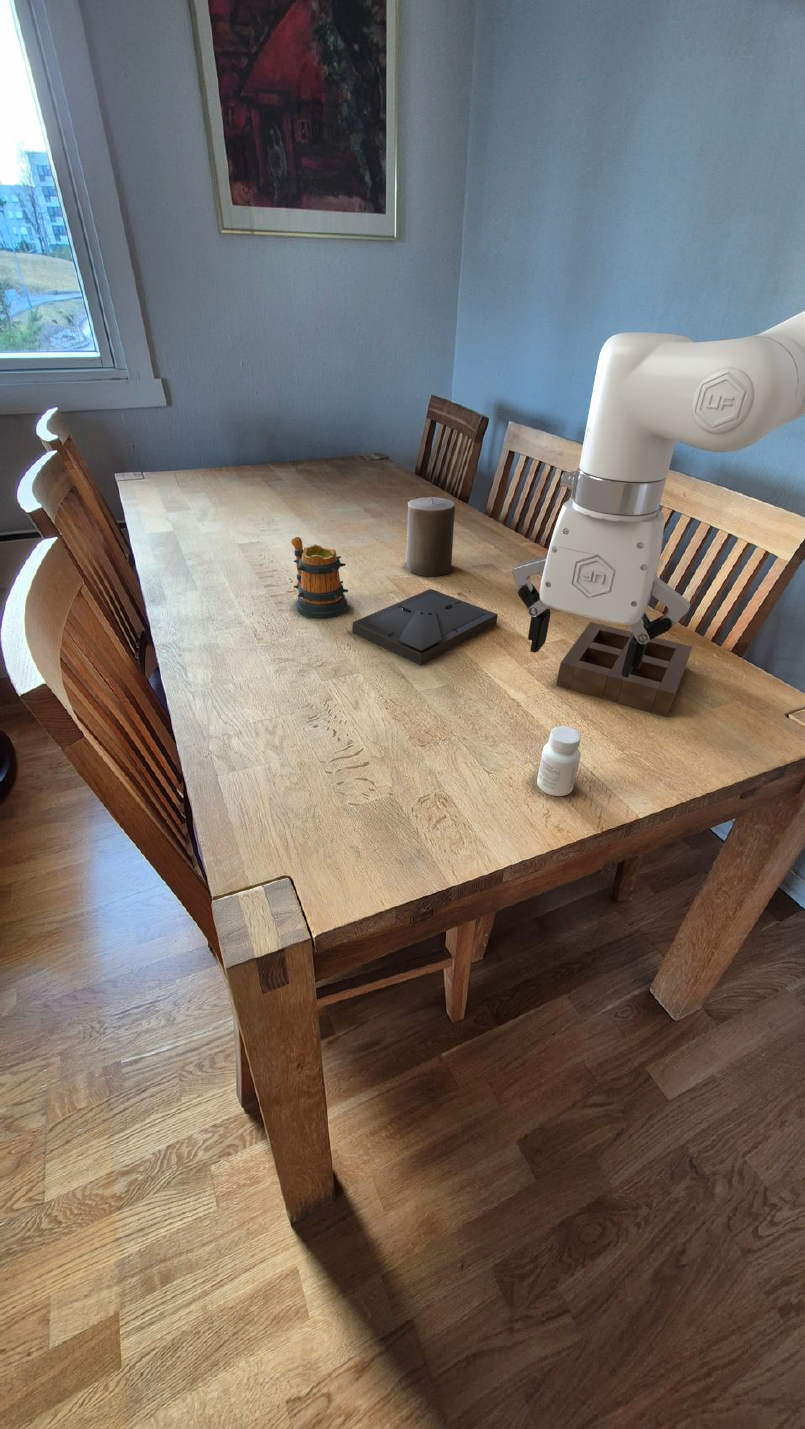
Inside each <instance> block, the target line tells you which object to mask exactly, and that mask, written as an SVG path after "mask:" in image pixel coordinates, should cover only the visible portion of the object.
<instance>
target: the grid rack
mask: <svg viewBox="0 0 805 1429" xmlns="http://www.w3.org/2000/svg"><path fill="white" fill-rule="evenodd" d="M633 636H634V634H633V633H632V631H631V630H626V629H622V628H618V627H614V626H609V625H605V624H602V623H597V622H593V621H590V622H589V623H588V624H587V626H586V627H585V628H584V629H583V631H582V632H581V634H580V635H579V636H578V638H577V639H576V641H575V642H574V644H573V645H572V646H571V647H570V649H569V650H568V652H567V653H566V654H565V656H564V657H563V659H562V660H561V661H560V663H559V669H558V672H557V673H558V674H557V678H556V684H555V685H556V686H557V687H560V688H564V689H567V690H572V691H575V692H579V693H582V694H585V695H588V696H593V697H596V698H599V699H603V700H607V701H610V702H613V703H616V704H620V705H623V706H627V707H630V708H634V709H637V710H640V711H644V712H647V713H652V714H654V715H657V716H662V717H665V718H668V716H669V713H670V711H671V709H672V705H673V702H674V701H675V697H676V694H677V692H678V689H679V686H680V684H681V681H682V678H683V676H684V673H685V670H686V668H687V665H688V662H689V659H690V655H691V653H692V650H693V646H691V645H688V644H684V643H680V642H676V641H672V640H667V639H664V638H659V637H655V638H653V639H651V640H649V642H648V643H647V645H646V649H645V653H644V656H643V660H642V663H641V665H640V668H639V669H637V668H633V669H632V671H631V673H630V675H629V677H628V678H626V677H623V675H621V673H622V669H623V665H624V661H625V658H626V654H627V650H628V646H629V643H630V641H631V639H632V637H633Z"/></svg>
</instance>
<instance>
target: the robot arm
mask: <svg viewBox="0 0 805 1429" xmlns="http://www.w3.org/2000/svg"><path fill="white" fill-rule="evenodd" d="M804 416H805V310H803V311H802V312H799V313H797V314H796V315H794V316H792V317H790V318H788V319H786V320H784V321H782V322H780V323H779V324H776V325H774V326H773V327H770V328H769V329H768V328H767V329H766V330H764V331H762V332H760V333H759V334H754V335H749V336H744V337H739V338H731V339H721V340H709V341H693V340H692V339H690V337H687V336H684V335H679V334H672V333H661V332H647V331H646V332H645V331H644V332H643V331H642V332H639V331H636V332H635V331H633V332H632V331H631V332H619V333H616V334H614V335H612V336H610V337H608V338H607V339H606V341H605V342H604V344H603V346H602V347H601V350H600V352H599V357H598V361H597V366H596V372H595V376H594V382H593V388H592V393H591V399H590V404H589V410H588V416H587V422H586V425H585V426H586V427H585V432H584V438H583V442H582V448H581V449H582V450H581V455H580V460H579V465H578V468H577V469H576V470H575V471H574V470H571V472H569V471H563V473H562V474H561V477H560V483H559V484H560V487H561V488H567V490H569V491H570V493H571V499H569V500H567V501H565V502H563V504H562V507H561V509H560V510H559V514H558V517H557V520H556V522H555V526H554V529H553V533H552V535H551V540H550V543H549V547H548V551H547V554H546V556H544V557H541V558H537V559H534V560H530V561H527V562H523V563H520V564H517V565H516V566H515V567H514V568H513V569H512V571H511V574H512V577H513V581H514V583H515V586H516V588H517V590H518V591H517V594H518V597H519V598H520V600H521V601H522V602H523V604H524V606H525V607H526V608H527V613H528V615H529V617H530V622H529V628H528V635H527V640H528V641H531V644H530V650H529V652H531V653H535V654H536V653H538V652H539V651H540V649H541V648H542V647H543V646H544V644H545V643H546V641H547V636H548V631H549V626H550V620H551V614H552V612H551V611H550V610H551V609H554V610H558V611H561V612H565V613H569V614H573V615H577V616H581V617H586V618H590V619H593V620H598V621H602V622H607V623H611V624H615V625H621V626H628V627H629V629H630V632H632V633H633V634H634V636H633V637H632V639H631V641H630V643H629V646H628V650H627V654H626V658H625V661H624V665H623V669H622V673H621V675H623V677H626V678H628V677H629V675H630V673H631V671H632V669H633V668H637V669H639V668H640V665H641V663H642V660H643V656H644V653H645V649H646V645H647V643H648V642H649V640H651V639H653V638H658V637H659V636H661V635H663V634H665V633H667V632H669V631H670V630H671V628H672V627H673V626H675V625H676V624H677V623H678V622H679V621H680V620H681V619H682V618H684V617H685V615H687V613H689V610H690V607H691V602H690V601H689V600H687V599H686V598H685V597H684V596H682V595H681V594H680V593H678V592H677V591H676V590H675V589H674V588H672V587H671V586H670V585H669V584H667V582H665V581H664V580H662V579H661V578H660V577H658V576H657V575H658V570H659V565H660V564H659V563H660V559H661V554H662V547H663V540H664V530H665V528H664V527H665V513H664V512H663V511H661V510H659V509H660V504H661V501H662V497H663V493H664V489H665V485H666V481H667V477H668V474H669V470H670V466H671V462H672V458H673V455H674V450H675V447H676V443H680V444H683V445H686V446H689V447H692V448H695V449H698V450H702V451H706V452H711V453H732V452H736V451H740V450H743V449H745V448H748V447H750V446H752V445H754V444H755V443H757V442H759V441H761V440H762V439H763V438H765V437H766V436H768V435H769V434H770V433H772V432H773V431H775V430H776V429H778V428H780V427H782V426H785V425H786V424H788V423H791V422H793V421H795V420H797V419H800V418H802V417H804ZM540 574H542V576H541V581H540V586H539V591H538V590H537V589H536V587H535V585H534V584H533V583H532V579H531V576H536V575H540ZM652 597H653V598H655V599H656V600H657V601H659V603H661V604H662V605H664V606H665V607H666V608H667V610H666V612H665V613H664V614H663V615H661V616H659V617H656V618H655V619H653V620H652V618H651V617H650V615H649V613H648V611H647V608H648V606H649V604H650V602H651V599H652Z"/></svg>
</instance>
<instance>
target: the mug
mask: <svg viewBox="0 0 805 1429" xmlns="http://www.w3.org/2000/svg"><path fill="white" fill-rule="evenodd" d="M290 543H291V545H292V546H293V547H294V550H293V552H294V557H295V560H293V562H294V563H295V564H296V570H297V573H296V580H297V582H296V585H293V588H295V589H297V590H298V591H297V592H298V594H297V600H296V601H295V606H296V611H297V612H298V613H299V614H300V615H302V616H305V617H307V618H313V619H330V618H334V617H338V616H340V615H342V614H345V612H346V611H347V610H348V609H349V608H348V606H349V604H348V599H347V598H346V595H345V593H347V592H348V593H349V589H346V588H344V584H343V583H344V581H343V580H341V577H340V571H339V570H340V568H341V567H345V566H347V563H343V562H341V560H340V559H341V557H342V556H341V555H339V556H337V550H336V548H334V549H332V548H329V547H323V546H321V545H318V544H316V543H315V544H312V545H310V546H307V547H304V548H303V540H302V538H301V537H300V536H296V537H293V538H292V539H291V540H290Z"/></svg>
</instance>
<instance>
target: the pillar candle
mask: <svg viewBox="0 0 805 1429" xmlns="http://www.w3.org/2000/svg"><path fill="white" fill-rule="evenodd" d="M455 513H456V503H455V502H454V501H452V500H450V499H448V498H447V499H446V498H443V497H442V498H441V497H432V496H430V497H418V498H414V499H411V500H409V501H407V529H406V531H407V532H406V562H405V563H406V564H405V566H406V570H407V571H409V572H410V573H412V574H415V575H419V576H424V577H437V576H438V577H439V576H441V575H446V574H449V572H451V570H452V561H453V546H454V531H455V530H454V528H455V515H456V514H455Z"/></svg>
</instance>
